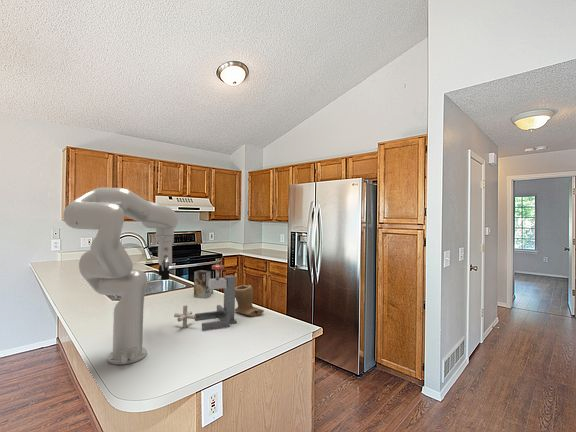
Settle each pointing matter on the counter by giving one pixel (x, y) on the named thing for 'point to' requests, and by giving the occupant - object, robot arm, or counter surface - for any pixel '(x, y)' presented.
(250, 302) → the brown boot vase
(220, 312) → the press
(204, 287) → the coffee box
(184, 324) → the pipe connector
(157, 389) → the counter surface
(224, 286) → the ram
